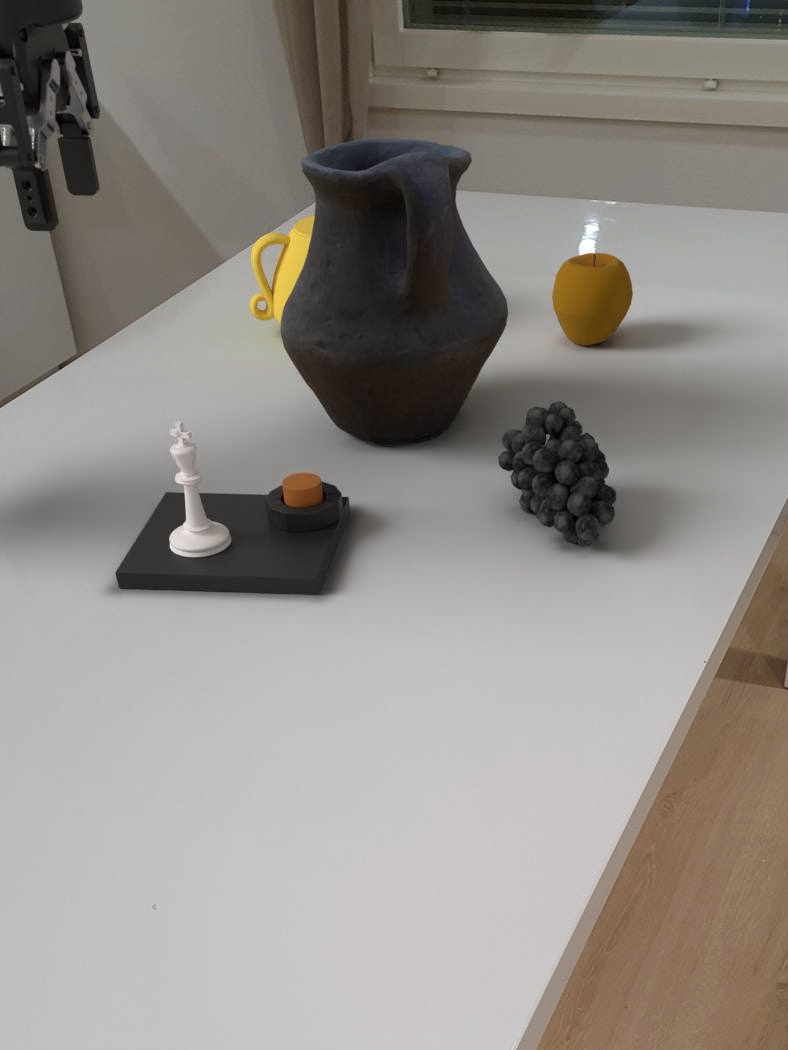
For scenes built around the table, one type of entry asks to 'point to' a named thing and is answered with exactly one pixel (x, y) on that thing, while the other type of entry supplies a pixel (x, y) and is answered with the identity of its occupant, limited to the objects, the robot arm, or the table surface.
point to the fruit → (560, 473)
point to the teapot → (280, 268)
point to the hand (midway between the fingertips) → (64, 211)
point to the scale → (241, 545)
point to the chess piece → (193, 506)
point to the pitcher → (391, 291)
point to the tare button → (302, 490)
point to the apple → (591, 297)
